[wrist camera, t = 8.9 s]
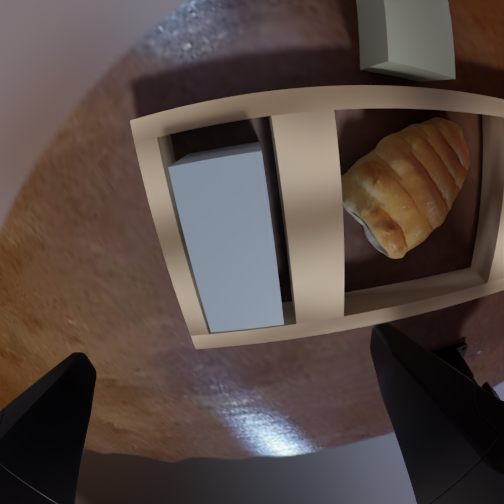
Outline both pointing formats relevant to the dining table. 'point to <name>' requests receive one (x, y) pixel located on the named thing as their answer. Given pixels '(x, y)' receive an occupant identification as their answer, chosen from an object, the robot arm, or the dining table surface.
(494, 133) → the frame
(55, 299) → the dining table surface
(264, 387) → the dining table surface
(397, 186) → the pastry
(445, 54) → the block
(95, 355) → the dining table surface
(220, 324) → the wing block
